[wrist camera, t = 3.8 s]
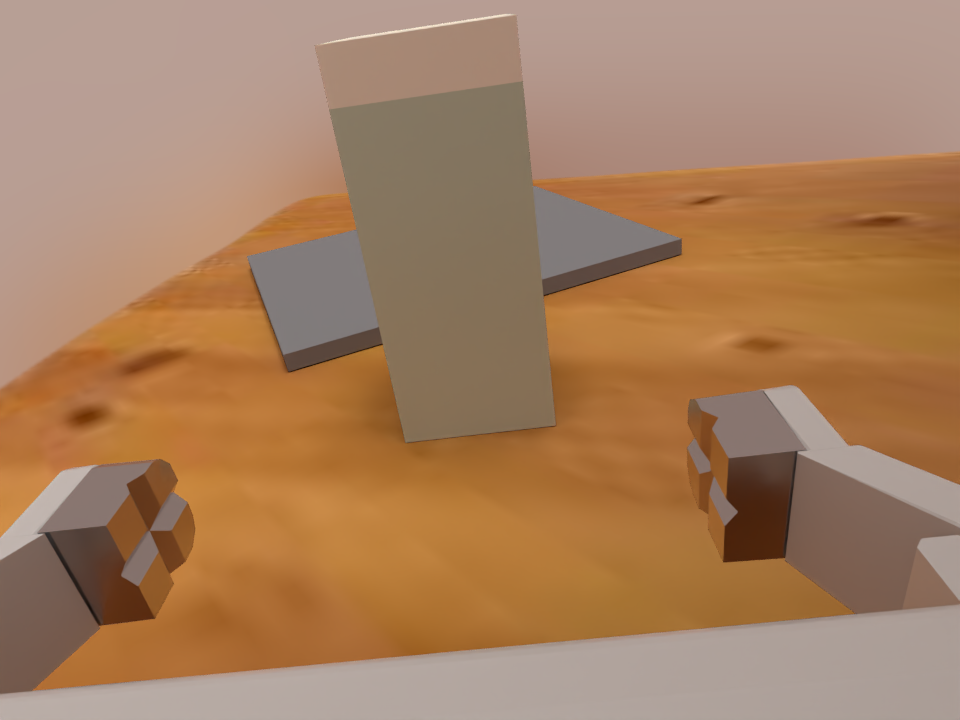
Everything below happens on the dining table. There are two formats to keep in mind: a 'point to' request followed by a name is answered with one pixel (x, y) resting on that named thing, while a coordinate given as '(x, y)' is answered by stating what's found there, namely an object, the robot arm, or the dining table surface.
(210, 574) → the dining table surface
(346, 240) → the rubber mat
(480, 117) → the sage block
